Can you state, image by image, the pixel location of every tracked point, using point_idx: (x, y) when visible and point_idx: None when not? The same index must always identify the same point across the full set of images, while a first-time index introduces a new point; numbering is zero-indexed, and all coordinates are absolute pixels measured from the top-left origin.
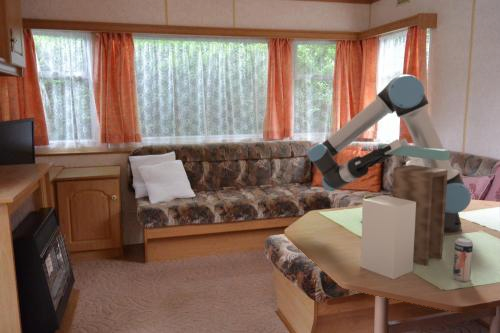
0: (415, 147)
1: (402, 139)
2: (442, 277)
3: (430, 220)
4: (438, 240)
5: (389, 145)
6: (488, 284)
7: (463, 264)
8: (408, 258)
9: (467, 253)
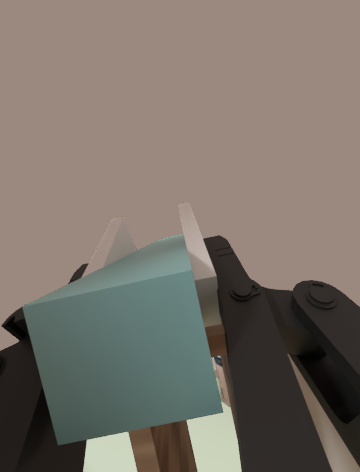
0: (170, 240)
1: (121, 221)
2: None
3: (182, 435)
4: (191, 450)
5: (205, 238)
6: (216, 375)
7: None
8: None
9: None
